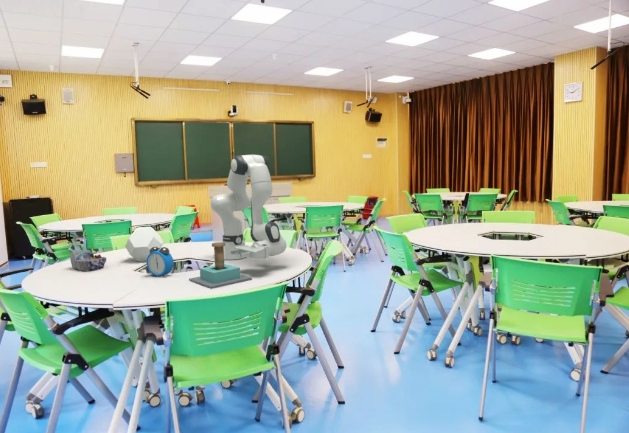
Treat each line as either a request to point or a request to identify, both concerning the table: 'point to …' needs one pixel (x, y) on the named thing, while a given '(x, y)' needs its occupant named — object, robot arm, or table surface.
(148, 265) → the alarm clock
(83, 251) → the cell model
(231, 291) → the table surface
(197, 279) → the socket board
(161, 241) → the geometric form
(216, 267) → the pin
